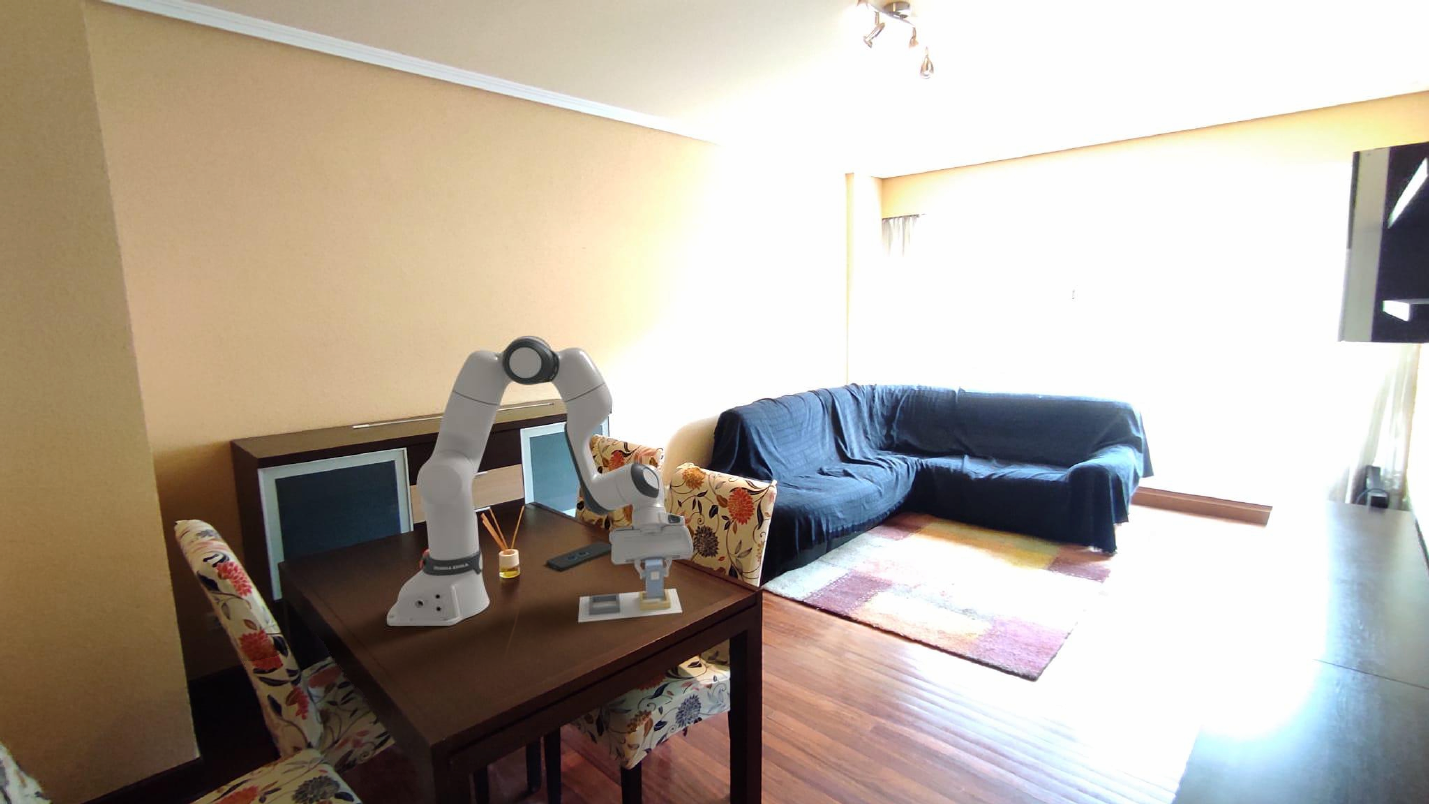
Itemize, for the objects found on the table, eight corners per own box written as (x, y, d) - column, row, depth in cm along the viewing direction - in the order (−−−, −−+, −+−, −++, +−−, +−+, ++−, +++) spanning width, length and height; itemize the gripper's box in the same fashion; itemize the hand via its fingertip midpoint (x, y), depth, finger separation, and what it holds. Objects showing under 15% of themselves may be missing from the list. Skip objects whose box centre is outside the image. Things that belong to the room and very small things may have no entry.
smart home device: (544, 560, 176) (599, 540, 192) (545, 566, 177) (599, 545, 192) (562, 567, 171) (617, 546, 186) (563, 573, 171) (617, 552, 187)
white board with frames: (578, 624, 142) (578, 616, 141) (580, 599, 154) (579, 591, 154) (682, 614, 146) (682, 606, 146) (675, 590, 159) (675, 583, 158)
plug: (647, 598, 148) (646, 566, 147) (645, 590, 152) (644, 559, 151) (664, 596, 149) (663, 565, 148) (662, 588, 153) (661, 557, 152)
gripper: (608, 522, 154) (610, 575, 145) (690, 516, 157) (696, 568, 149) (609, 533, 159) (611, 585, 150) (688, 527, 162) (694, 578, 154)
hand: (654, 577), depth 150 cm, fingers closed on plug, 4 cm apart
